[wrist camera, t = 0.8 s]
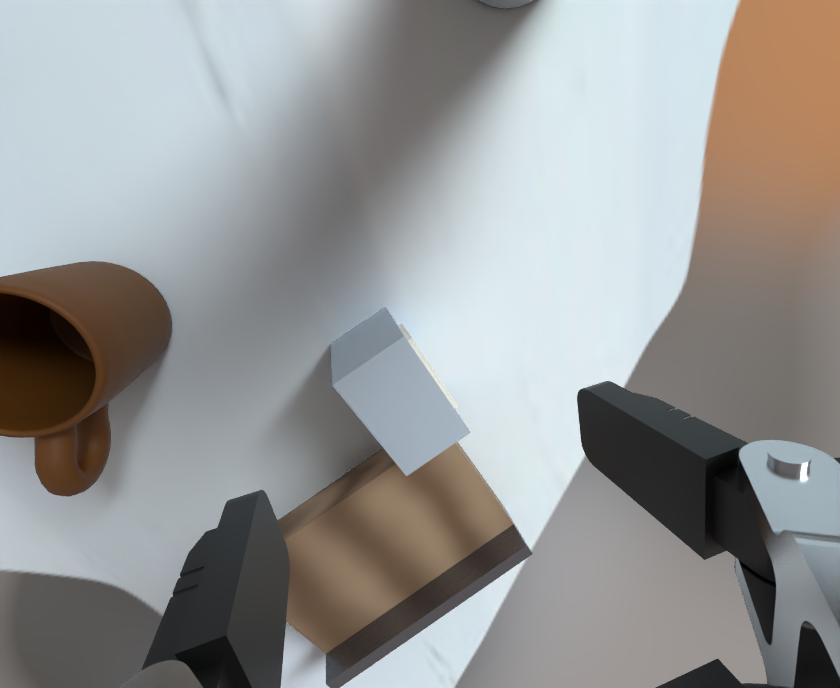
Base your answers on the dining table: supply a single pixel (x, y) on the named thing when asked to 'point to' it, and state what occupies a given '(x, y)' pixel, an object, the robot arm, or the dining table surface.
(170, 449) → the dining table surface
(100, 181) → the dining table surface
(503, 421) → the dining table surface
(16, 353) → the mug
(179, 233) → the dining table surface
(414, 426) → the carton
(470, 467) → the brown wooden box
